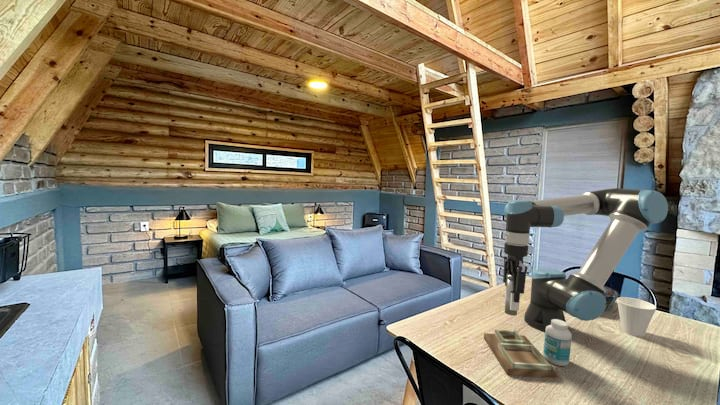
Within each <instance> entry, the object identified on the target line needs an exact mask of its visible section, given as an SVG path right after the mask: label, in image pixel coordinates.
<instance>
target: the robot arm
mask: <svg viewBox="0 0 720 405" xmlns="http://www.w3.org/2000/svg"><path fill="white" fill-rule="evenodd" d="M503 209H504V210H503V213H504V216H505V218H506V220H505V221H506V222H505V233H504V235H503V236H504V241H505V243H504V244H503V245H504V247H503V252H504V254H505V256H503V274H502V275H503V277H502V278H503V279H502V282H503V283H504V286H505V292H504V294H505V295H504V301H505V300H506V288H507V277H506V275H507V274H513V291H511V302H510V310H515V311H517V312H519V310H520V298H521V295H522V294H525V287H526V279H527V277H526V276H527V271H528V268H529V267H528V266H527V265H524V258H525V257H527V256H528V254H529V246H528V245H529V244H530V233H531V232H530V230H531V228H556V227H559V226H561V225H562V224H563V222H564V220H565V219H564V218H565V217H566V216H573V215H582V214H583V215H584V214H585V215H587V216H595V215H597V216H604V217H605V216H606V217H609V219H610V222H609V223H608V225H607V227H606V228H605V230H604V231H603V233H602V234H601V235H600V237H599V239H598V241H597V242H596V243H595V245H594V246H593V248H592V249H591V251H590V253H589V254H588V256H587V257H586V258H585V260H584V262H583V264H582V265H581V267H580V268H579V269H578V271H577V272H574V273H570V274H569V275H568V277H567V276H566V273H565V272H564V271H561V270H556V269H555V270H554V269H546V268H545V269H535V270H534V271H533V272H532V278H531V287H530V302H529V304H528V307H527V308H526V311H525V313H524V316H523V318H524V322H525V323H526V324H527V325H529V326H530V327H532V328H534V329H537V330H539V331H542V332H545V329H546V327H547V326H549V325H551V320H552V319H558V320H562V321H564V322H566V323H567V321H566V317H565V314H564V312H565V313H567V314H569V316H571V317H574V318H576V319H579V320H580V321H584V322H585V321H586V322H588V321H593V320H596V319H598V318H600V317H601V316H602V315H603V313H605V312H606V311H605V309H606V305H605V304H606V299H605V297H604V294H605V290H604V287H603V286H605V284H606V282H607V281H608V280H609V278H610V276H611V275H612V273H613V272H614V270H615V269H616V267H617V266H618V264H619V263H620V261H621V260H622V258H623V256H624V255H625V254H626V252H627V251H628V249H629V248H630V246H631V244H632V243H633V241H634V240H635V239H636V237H637V235H638V233H640V232H644V231H647V230H648V229H649V227H650V225H651V224H659V223H662V222H663V221H664V220H665V219H666V217H667V215H668V211H669V204H668V201H667V199H666V197H665V196H664V195H663V193H661V192H660V191H656V190H649V189H646V188H645V189H634V188H633V189H632V188H618V187H617V188H606V189H605V188H604V189H598V190H594V191H593V190H592V191H586V192H583V193H581V194H580V195H574V196H563V197H557V198H555V197H554V198H548V199H539V200H525V199H510V200H509V201H508V202H507V204H506V205H505V206H504V208H503ZM506 255H507V256H506ZM503 303H504V305H505V302H503ZM604 311H605V312H604Z"/></svg>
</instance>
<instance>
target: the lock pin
mask: <svg viewBox="0 0 720 405" xmlns="http://www.w3.org/2000/svg"><path fill="white" fill-rule="evenodd" d="M506 277H507V288H506V287H505V290H506V300H505V299H504V303H505V304H504V313H505V314H506V315H508V316H517V315H518V311H515V310H510V302H511V291H513V274H507V275H506Z"/></svg>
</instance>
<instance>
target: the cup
mask: <svg viewBox="0 0 720 405" xmlns="http://www.w3.org/2000/svg"><path fill="white" fill-rule="evenodd" d="M616 301H617V308H618V314H619V321H620V326H621V331H622V332H624V333H626V334H628V335H631V336H633V337H634V336H635V337H642V336H643V337H645V334H646V333H647V331H648V328H649V325H650V323H651V320H652V318H653V317H654V314H655V312H656V310H657V306H656V305H655V304H653V303H651V302H649V301H646V300H642V299H639V298H636V297H635V298H634V297H627V296H620V297H619V296H618V298H617V299H616Z"/></svg>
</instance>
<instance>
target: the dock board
mask: <svg viewBox="0 0 720 405" xmlns="http://www.w3.org/2000/svg"><path fill="white" fill-rule="evenodd" d="M483 339H484V341H485V342H486V345H487V346H488V347H489V349H490V351H491V353H492V354H493V355H494V357H495V358H496V359H497V361H498V364H499V365H500V366H501V368H502V369H503V371H504V373H505V374H506V375H507V376H519V377H532V378H533V377H536V378H551V379H558V370H556V369H555V368H554V366H553V365H552V363H550V362H548V361H547V360H546V359H545V358H544V356H543V354H542V353H541V352H540V351H539V350H538V349H537V348H536V346H535V345H534V344H533V343H532V342H531V341H530V339H529V338H528V337H527V336H525V335H520V334H519V333H518V332H517V330H511V329H494V333H486V332H485V333H483Z"/></svg>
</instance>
